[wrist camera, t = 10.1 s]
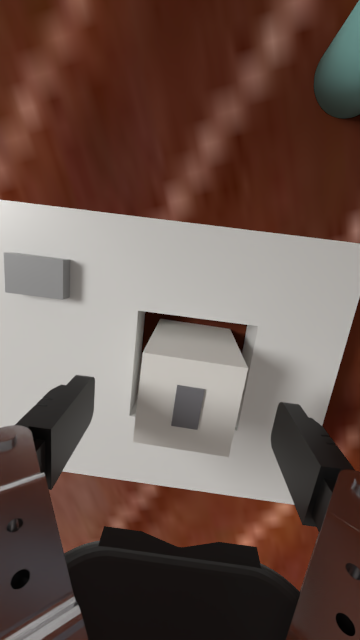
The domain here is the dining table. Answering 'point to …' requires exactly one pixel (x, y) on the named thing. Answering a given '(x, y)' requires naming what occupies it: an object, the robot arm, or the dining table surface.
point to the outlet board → (173, 299)
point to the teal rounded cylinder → (341, 71)
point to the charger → (190, 388)
